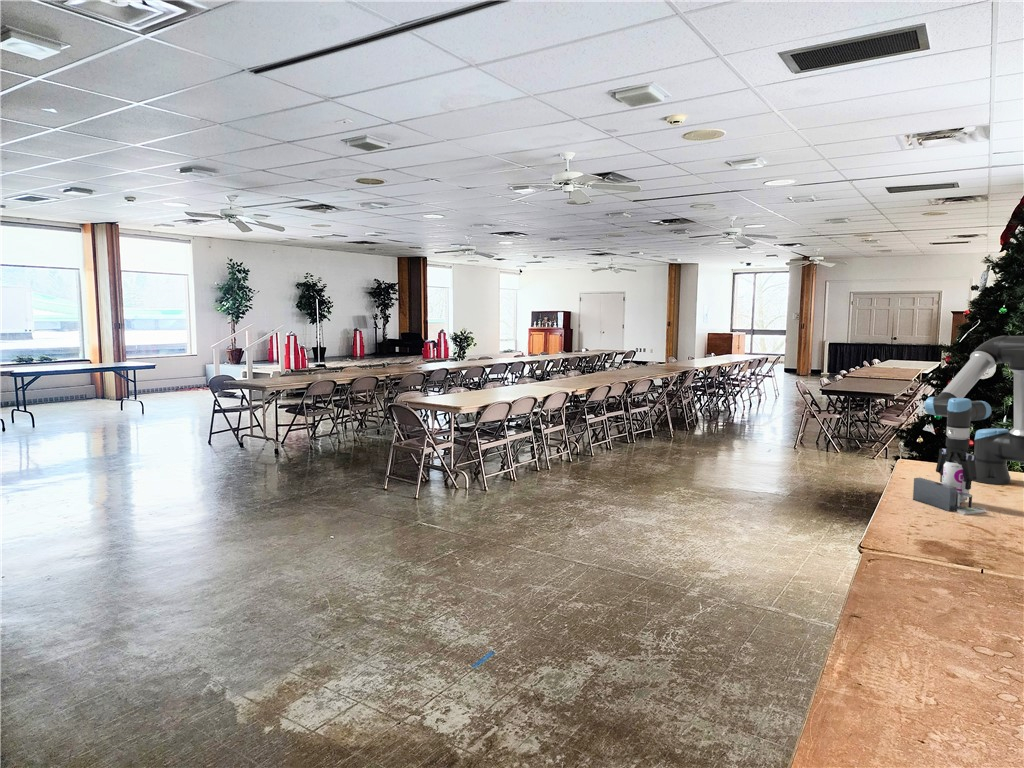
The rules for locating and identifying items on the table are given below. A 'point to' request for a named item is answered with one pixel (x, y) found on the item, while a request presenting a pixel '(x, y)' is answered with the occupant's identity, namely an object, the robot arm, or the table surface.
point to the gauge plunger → (959, 498)
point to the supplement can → (954, 476)
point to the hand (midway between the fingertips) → (954, 494)
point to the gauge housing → (940, 496)
